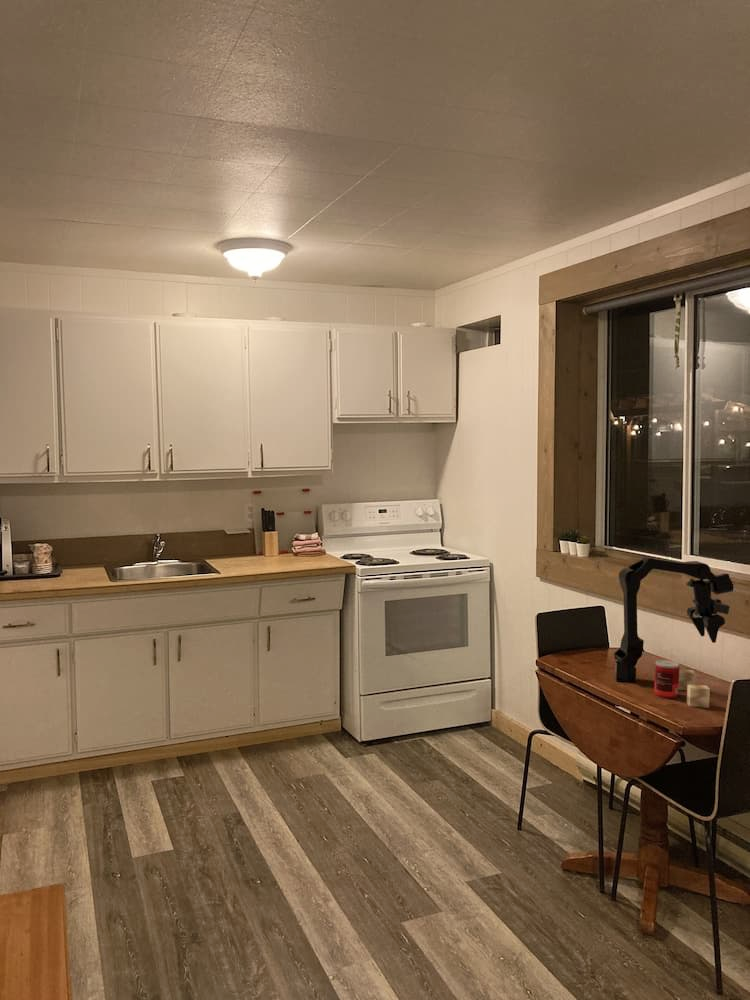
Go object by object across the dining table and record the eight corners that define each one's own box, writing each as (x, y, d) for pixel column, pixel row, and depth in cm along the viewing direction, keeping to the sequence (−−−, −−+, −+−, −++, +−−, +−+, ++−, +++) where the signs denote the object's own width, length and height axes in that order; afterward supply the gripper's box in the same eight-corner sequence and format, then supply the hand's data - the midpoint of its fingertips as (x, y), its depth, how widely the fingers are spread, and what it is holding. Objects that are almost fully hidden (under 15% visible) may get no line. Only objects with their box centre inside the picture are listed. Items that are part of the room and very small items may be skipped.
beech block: (689, 706, 270) (690, 688, 270) (686, 702, 274) (687, 684, 274) (708, 707, 269) (709, 689, 269) (705, 703, 273) (706, 685, 273)
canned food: (672, 691, 286) (674, 660, 285) (682, 699, 278) (683, 666, 277) (650, 691, 286) (651, 659, 285) (659, 698, 278) (660, 666, 277)
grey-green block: (676, 689, 288) (677, 672, 288) (674, 686, 292) (674, 669, 292) (694, 690, 287) (695, 673, 287) (692, 687, 291) (692, 670, 291)
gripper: (737, 598, 289) (742, 642, 290) (713, 588, 308) (718, 629, 309) (705, 603, 289) (711, 647, 290) (683, 593, 307) (689, 634, 309)
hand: (708, 639), depth 300 cm, fingers open, 9 cm apart
